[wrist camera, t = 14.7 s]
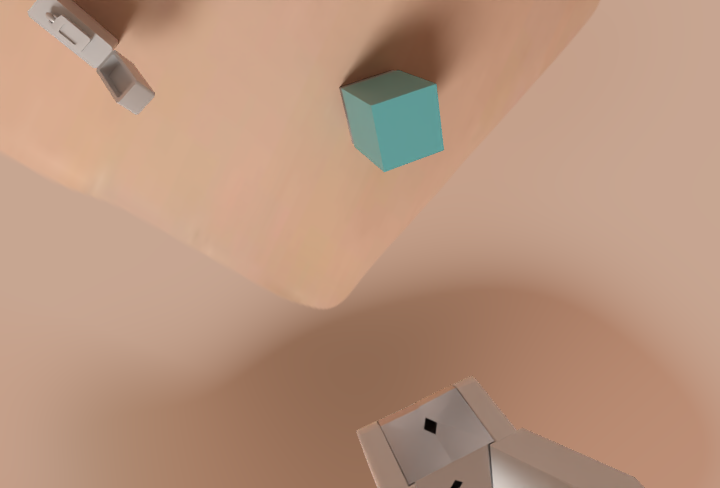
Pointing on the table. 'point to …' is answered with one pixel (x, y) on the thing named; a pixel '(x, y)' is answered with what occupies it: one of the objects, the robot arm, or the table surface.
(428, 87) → the teal rectangular block
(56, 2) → the lighter
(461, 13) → the table surface
